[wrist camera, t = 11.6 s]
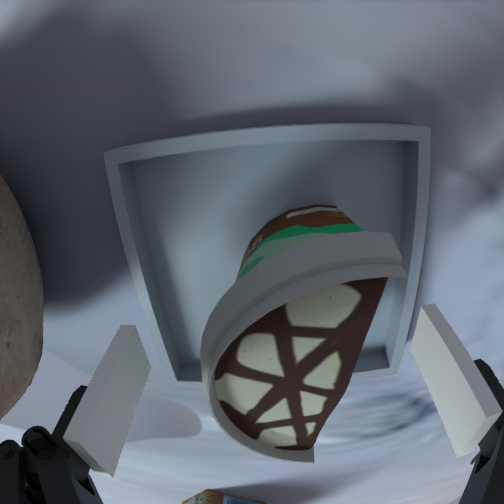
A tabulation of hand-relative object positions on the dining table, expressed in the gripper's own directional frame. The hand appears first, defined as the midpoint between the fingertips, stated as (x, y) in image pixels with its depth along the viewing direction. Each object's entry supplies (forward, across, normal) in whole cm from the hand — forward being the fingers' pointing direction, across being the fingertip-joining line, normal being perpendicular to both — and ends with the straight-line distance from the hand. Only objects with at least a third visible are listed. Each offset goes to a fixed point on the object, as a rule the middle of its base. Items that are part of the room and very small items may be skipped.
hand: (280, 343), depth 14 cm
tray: (+8, 0, 0) cm, 8 cm away
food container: (+7, 0, 0) cm, 7 cm away
